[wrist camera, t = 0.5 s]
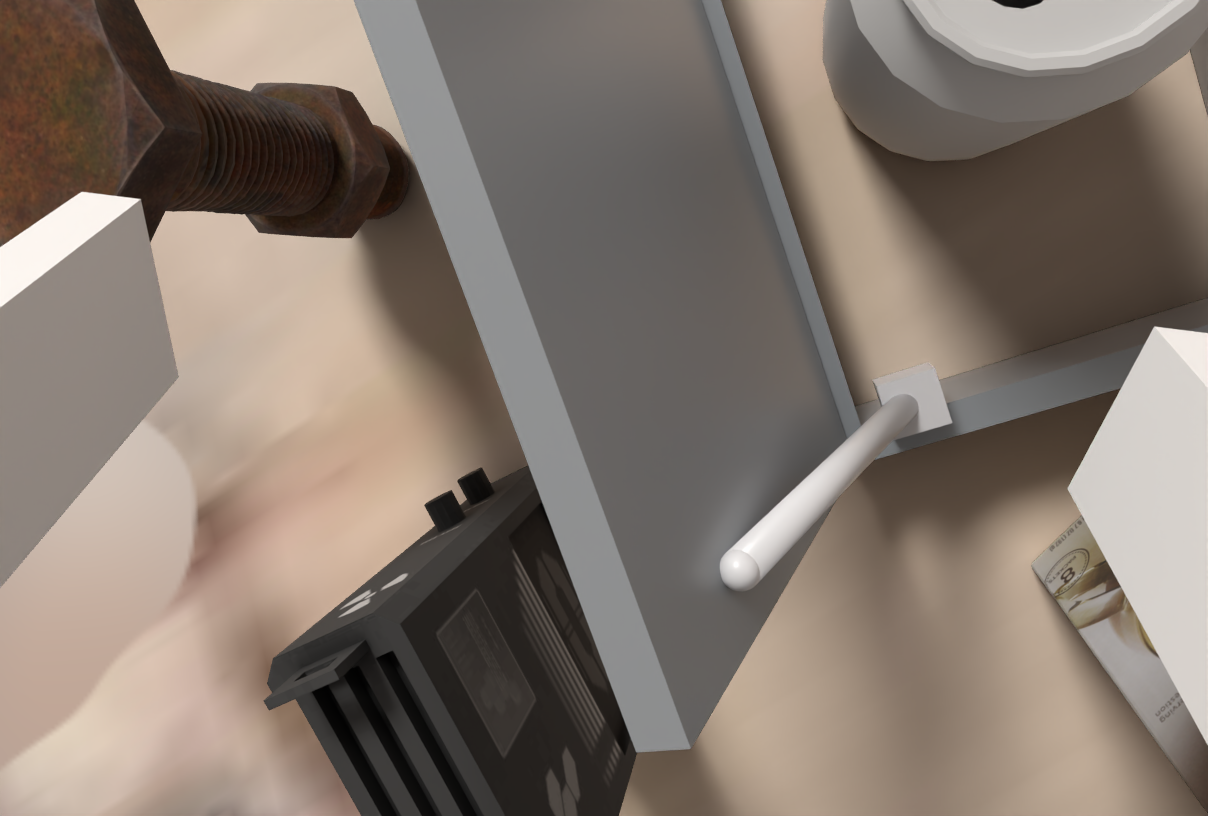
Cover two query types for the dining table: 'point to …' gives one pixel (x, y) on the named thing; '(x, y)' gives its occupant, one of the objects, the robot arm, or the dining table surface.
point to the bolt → (175, 131)
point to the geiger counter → (465, 673)
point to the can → (993, 65)
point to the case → (666, 320)
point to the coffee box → (1123, 648)
